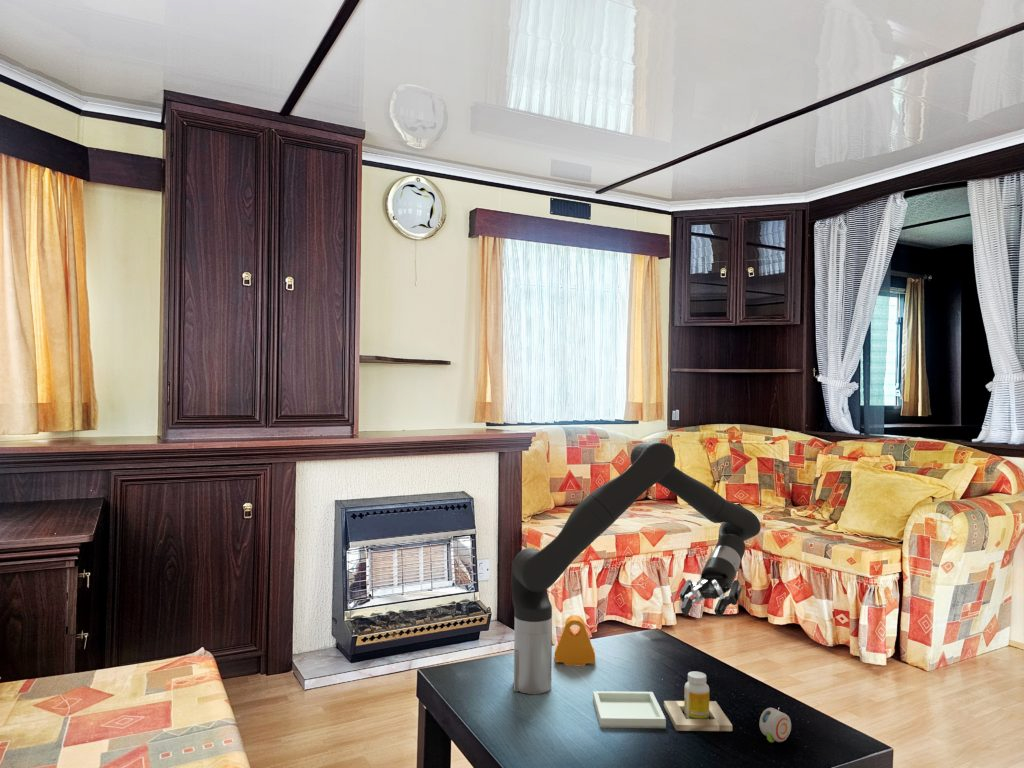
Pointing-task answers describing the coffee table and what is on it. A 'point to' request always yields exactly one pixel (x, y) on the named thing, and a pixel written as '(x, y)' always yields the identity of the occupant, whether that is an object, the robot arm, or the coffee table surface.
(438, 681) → the coffee table surface
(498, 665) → the coffee table surface
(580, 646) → the bracket
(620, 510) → the robot arm
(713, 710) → the holder board
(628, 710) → the tray
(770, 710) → the roller toy
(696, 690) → the supplement bottle
